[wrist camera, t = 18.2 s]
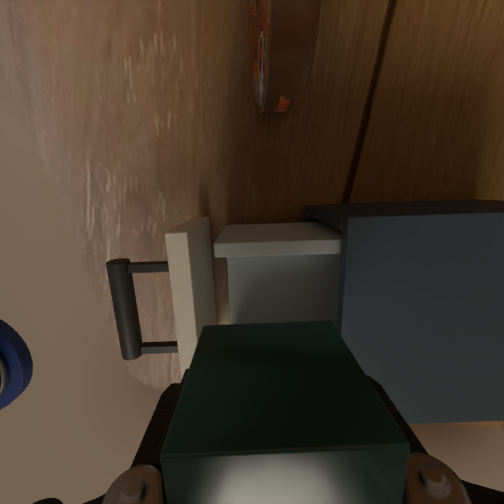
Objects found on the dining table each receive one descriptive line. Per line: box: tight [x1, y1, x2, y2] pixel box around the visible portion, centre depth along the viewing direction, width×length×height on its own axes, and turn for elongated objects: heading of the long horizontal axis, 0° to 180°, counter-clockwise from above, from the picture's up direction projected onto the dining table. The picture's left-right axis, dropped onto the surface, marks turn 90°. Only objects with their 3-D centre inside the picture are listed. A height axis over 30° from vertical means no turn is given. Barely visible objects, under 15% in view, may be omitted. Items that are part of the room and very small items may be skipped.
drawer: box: [106, 217, 342, 379], centre depth 18 cm, size 18×11×8 cm, turn 92°
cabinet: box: [305, 199, 504, 424], centre depth 18 cm, size 15×13×10 cm
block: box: [160, 320, 410, 504], centre depth 8 cm, size 5×5×5 cm
